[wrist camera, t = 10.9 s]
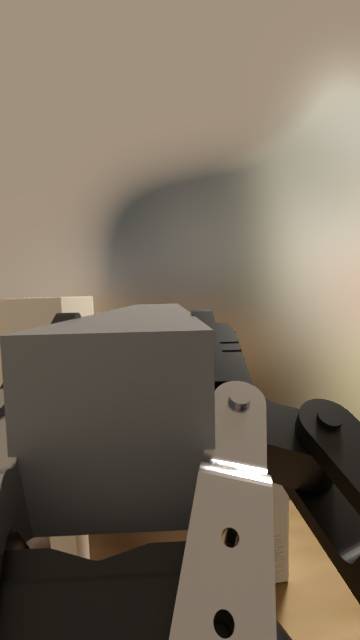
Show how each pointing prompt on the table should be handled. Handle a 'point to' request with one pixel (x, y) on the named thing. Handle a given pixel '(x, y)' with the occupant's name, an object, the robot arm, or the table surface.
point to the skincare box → (280, 532)
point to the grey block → (110, 418)
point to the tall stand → (32, 314)
